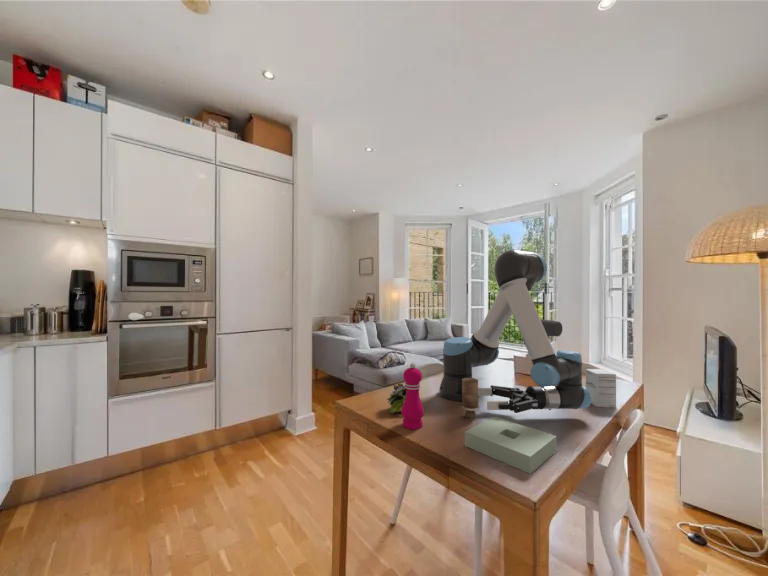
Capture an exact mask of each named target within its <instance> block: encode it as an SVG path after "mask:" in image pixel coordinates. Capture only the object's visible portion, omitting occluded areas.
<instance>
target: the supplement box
mask: <svg viewBox="0 0 768 576" xmlns="http://www.w3.org/2000/svg"><path fill="white" fill-rule="evenodd" d="M585 387H586V388H587V389H588V390H589V392H590V396H591V404H592V405H593V406H595V407H597V408H617V374H616V373H613V372H611V371H609V370H606V369H603V368H600V369H599V368H585Z"/></svg>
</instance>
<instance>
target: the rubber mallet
mask: <svg viewBox="0 0 768 576" xmlns="http://www.w3.org/2000/svg"><path fill="white" fill-rule="evenodd" d="M540 320H541V322H542V324H543V327H544V329H545V331H546V334H547V336H548V338H549V339H550V337H560V336H561V335H562V333H563V325H562V322H560V321H556V320H549V319H540Z"/></svg>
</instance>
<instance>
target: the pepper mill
mask: <svg viewBox="0 0 768 576" xmlns="http://www.w3.org/2000/svg"><path fill="white" fill-rule="evenodd" d="M422 379H423V374H422V371H421V370H420V369H418V368H416V364H415V363H414V362H411V363H410V364H409V367H408V368H406V369H405V370H404V372H403V381H405V383H404V385H405V388H406V398H405V401H404V403H403V406H402V410H401V411H400V412H401V415H402V417H403V419H402V426H403V427H404V428H405V427H406V428H405V429H408V430H419V429H421V428H422V427H423V419H422V418H423V417H424V416H425V415H424V414H425V410H424V406H423V403H422V401H421V398H420V389H421V383H420V382H421V381H422Z"/></svg>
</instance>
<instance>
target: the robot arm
mask: <svg viewBox="0 0 768 576" xmlns="http://www.w3.org/2000/svg"><path fill="white" fill-rule="evenodd" d="M493 271H494V277H495V280H496V285H497V287H498V288H499V292H498V293H497V295H496V297H495V299H494V300H493V302H492V304H491V306H490V308H489V310H488V312H487V314H486V315H485V318H484V320H483V321H482V323H481V326H480V327H479V329H477V330H474V332H473V333H472V335H471V337H465V336H458V337H450V338H447V339H445V340H444V341H443V349H442V353H443V354H442V356H443V363H442V364H443V376H442V378H441V379H442V380H441V383H440V384H439V385H440V386H439V390H438V391H439V396H440V397H442V398H444V399H446V400H450V401H457V402H458V401H459V402H462V379H463V378H473V368H477V367H481V366H482V367H484V366H488V365H491V364H493V363H494V362H495V361H497V359H498V357H499V353H500V350H499V349H500V348H499V346H500V342H499V339H500V337H501V335H502V333H503V331H504V330H505V328H506V326H507V325H508V322H509V321H510V320H511V317H512V316H513V318H514V320H515V322H516V325H517V328H518V330H519V333H520V335H521V338H522V339H523V342H524V346H525V348H526V349H527V353H528V356H529V357H530V360H531V362H532V367H531V368H530V377H531V379H532V381H533V382H534V383H535V384H536V385H528V386H527V387H526V389H525V391H524V390H522V389H520V388H519V387H509V386H508V387H507V386H500V385H490V387H478V397H484V396H485V397H488V396H489V397H493V396H497V397H503V398H507V399H508V400H487V401H486V402H487V403H486V405H487V406H486V408H487V409H486V410H487V411H508V410H509V411H511V412H514V413H515V414H518V413H522V412H526V411H529V410H549V411H552V410H559V409H560V410H564V409H565V410H571V409H572V410H578V409H587V408H589V407H590V405H591V404H592V403H591V396H590V392H589V390H588V389H587V388H586V386H584V385H583V381H582V380H583V375H582V374H583V373H582V372H583V361H582V360H583V359H582V358H583V357H582V354H581V353H580V352H579V351H575V350H571V349H570V350H566V349H561V350H558V351H557V352H556V353H555V350H554V348H553V345H552V343H551V341H550V337H549V338H548V336H547V334H546V331H545V329H544V327H543V324H542V322H541V320H542V319H541V318H540V315H539V311H538V310H537V307H536V306H535V303H534V301H533V298H532V296H531V294H530V291H532V289H533V286H534V285H535V283H538V282H540V281H541V280H543V279H544V278H545V276H546V275H547V271H548V266H547V264H546V260H545V259H544V257H543V256H542V255H541V254H539V253H536V252H533V251H523V250H518V249H509V250H506V251H504V252H502V253H501V254H500V255H499V256H498V257H497V259H496V260H495V264H494V270H493Z"/></svg>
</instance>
